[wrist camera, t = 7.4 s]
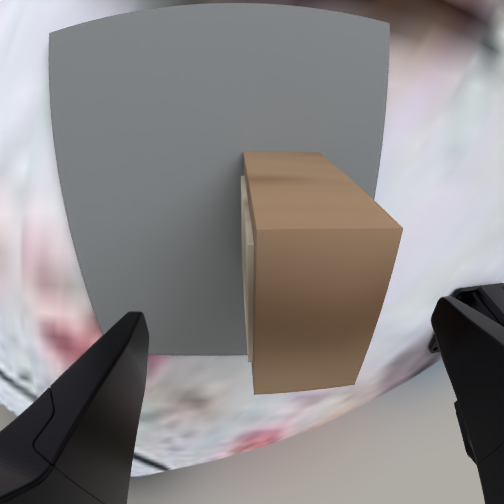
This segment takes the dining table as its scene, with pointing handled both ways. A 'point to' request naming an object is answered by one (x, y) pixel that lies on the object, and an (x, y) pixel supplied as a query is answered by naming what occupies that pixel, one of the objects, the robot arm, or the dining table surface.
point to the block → (310, 270)
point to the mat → (199, 147)
